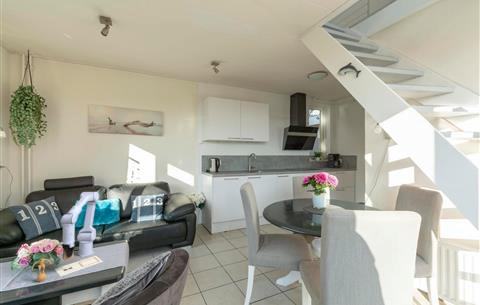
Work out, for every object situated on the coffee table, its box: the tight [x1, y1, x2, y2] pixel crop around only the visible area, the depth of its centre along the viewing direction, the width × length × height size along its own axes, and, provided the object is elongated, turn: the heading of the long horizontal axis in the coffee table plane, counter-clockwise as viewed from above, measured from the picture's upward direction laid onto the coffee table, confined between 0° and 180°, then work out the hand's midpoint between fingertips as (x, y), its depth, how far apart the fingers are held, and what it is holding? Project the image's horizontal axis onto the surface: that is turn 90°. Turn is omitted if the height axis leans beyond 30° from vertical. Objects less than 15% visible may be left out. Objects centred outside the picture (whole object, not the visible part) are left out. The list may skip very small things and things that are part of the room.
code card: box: [54, 255, 104, 277], centre depth 134 cm, size 13×22×1 cm, turn 142°
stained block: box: [62, 250, 75, 261], centre depth 130 cm, size 4×4×5 cm
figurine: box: [31, 257, 52, 282], centre depth 119 cm, size 8×6×12 cm
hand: (68, 255), depth 130 cm, fingers closed on stained block, 4 cm apart
